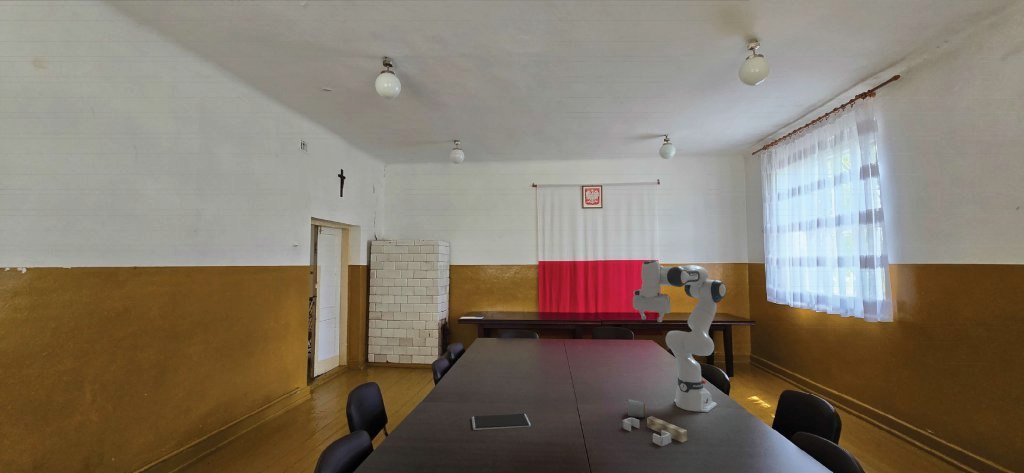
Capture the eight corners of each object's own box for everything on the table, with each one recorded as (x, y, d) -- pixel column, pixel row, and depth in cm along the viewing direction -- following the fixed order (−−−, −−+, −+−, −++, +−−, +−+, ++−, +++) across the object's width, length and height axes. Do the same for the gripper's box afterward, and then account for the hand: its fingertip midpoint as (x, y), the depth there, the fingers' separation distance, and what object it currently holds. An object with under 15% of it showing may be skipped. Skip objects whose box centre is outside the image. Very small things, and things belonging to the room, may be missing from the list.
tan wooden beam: (647, 427, 179) (647, 417, 179) (652, 425, 180) (651, 416, 181) (682, 443, 163) (682, 432, 164) (687, 441, 165) (686, 430, 166)
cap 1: (639, 428, 177) (639, 420, 178) (629, 431, 174) (629, 423, 174) (631, 424, 181) (631, 417, 181) (622, 427, 178) (622, 420, 178)
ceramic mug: (645, 420, 186) (645, 404, 187) (628, 418, 189) (627, 402, 189) (644, 412, 196) (644, 397, 197) (627, 410, 199) (627, 395, 199)
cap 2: (652, 442, 164) (652, 433, 164) (662, 438, 167) (662, 430, 167) (661, 446, 160) (661, 437, 160) (671, 442, 163) (671, 434, 164)
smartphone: (531, 428, 179) (531, 424, 179) (473, 431, 175) (473, 427, 175) (525, 416, 192) (525, 413, 192) (471, 419, 188) (471, 415, 188)
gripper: (673, 293, 184) (674, 322, 183) (638, 291, 201) (639, 317, 201) (665, 294, 181) (666, 323, 180) (630, 291, 198) (631, 318, 197)
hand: (651, 320), depth 190 cm, fingers open, 8 cm apart
